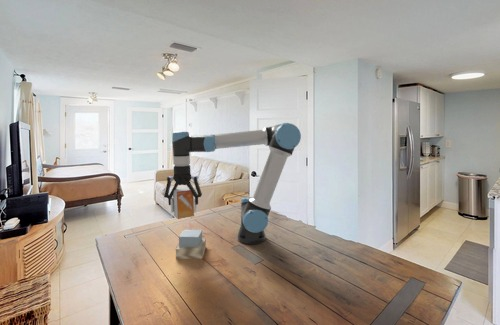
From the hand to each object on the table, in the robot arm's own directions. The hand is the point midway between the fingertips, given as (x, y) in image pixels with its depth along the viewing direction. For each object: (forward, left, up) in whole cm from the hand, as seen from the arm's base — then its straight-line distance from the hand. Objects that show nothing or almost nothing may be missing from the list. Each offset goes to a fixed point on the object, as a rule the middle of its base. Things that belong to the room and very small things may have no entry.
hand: (183, 211), depth 121 cm
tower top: (-3, +1, -15) cm, 16 cm away
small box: (0, 0, -2) cm, 2 cm away
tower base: (-4, +1, -20) cm, 21 cm away
